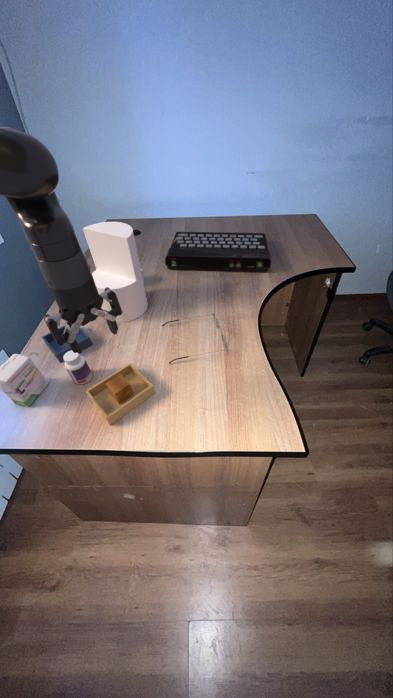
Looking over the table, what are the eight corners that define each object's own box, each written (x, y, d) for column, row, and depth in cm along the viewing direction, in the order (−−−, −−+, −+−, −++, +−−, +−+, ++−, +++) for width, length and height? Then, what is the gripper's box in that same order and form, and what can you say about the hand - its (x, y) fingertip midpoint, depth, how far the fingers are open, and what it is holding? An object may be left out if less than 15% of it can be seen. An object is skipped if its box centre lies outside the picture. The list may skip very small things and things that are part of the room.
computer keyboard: (264, 243, 132) (266, 230, 128) (269, 273, 113) (271, 258, 109) (176, 241, 137) (174, 228, 132) (166, 270, 118) (164, 255, 113)
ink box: (29, 408, 71) (4, 382, 63) (14, 403, 72) (-12, 377, 64) (49, 383, 77) (29, 356, 68) (35, 379, 78) (14, 352, 69)
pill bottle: (96, 372, 79) (85, 350, 72) (86, 386, 75) (73, 364, 68) (80, 368, 80) (68, 346, 73) (70, 382, 76) (56, 361, 69)
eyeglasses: (229, 354, 82) (229, 345, 79) (169, 365, 81) (167, 356, 78) (214, 317, 95) (214, 308, 92) (162, 326, 93) (160, 318, 90)
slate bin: (60, 362, 82) (55, 355, 79) (46, 344, 88) (41, 336, 85) (92, 344, 87) (89, 337, 84) (77, 328, 93) (74, 320, 90)
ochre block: (119, 404, 70) (114, 394, 67) (110, 394, 73) (105, 383, 69) (133, 394, 73) (129, 383, 69) (124, 384, 75) (120, 373, 71)
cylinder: (121, 289, 108) (101, 218, 88) (156, 300, 102) (144, 227, 82) (91, 314, 98) (61, 239, 77) (129, 327, 92) (106, 251, 72)
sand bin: (110, 425, 67) (106, 418, 64) (89, 398, 73) (85, 391, 70) (155, 392, 73) (153, 385, 71) (132, 370, 79) (130, 362, 77)
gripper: (95, 255, 51) (116, 319, 63) (19, 283, 45) (58, 349, 57) (115, 269, 48) (133, 334, 59) (35, 302, 41) (73, 368, 53)
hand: (96, 341), depth 58 cm, fingers open, 8 cm apart
